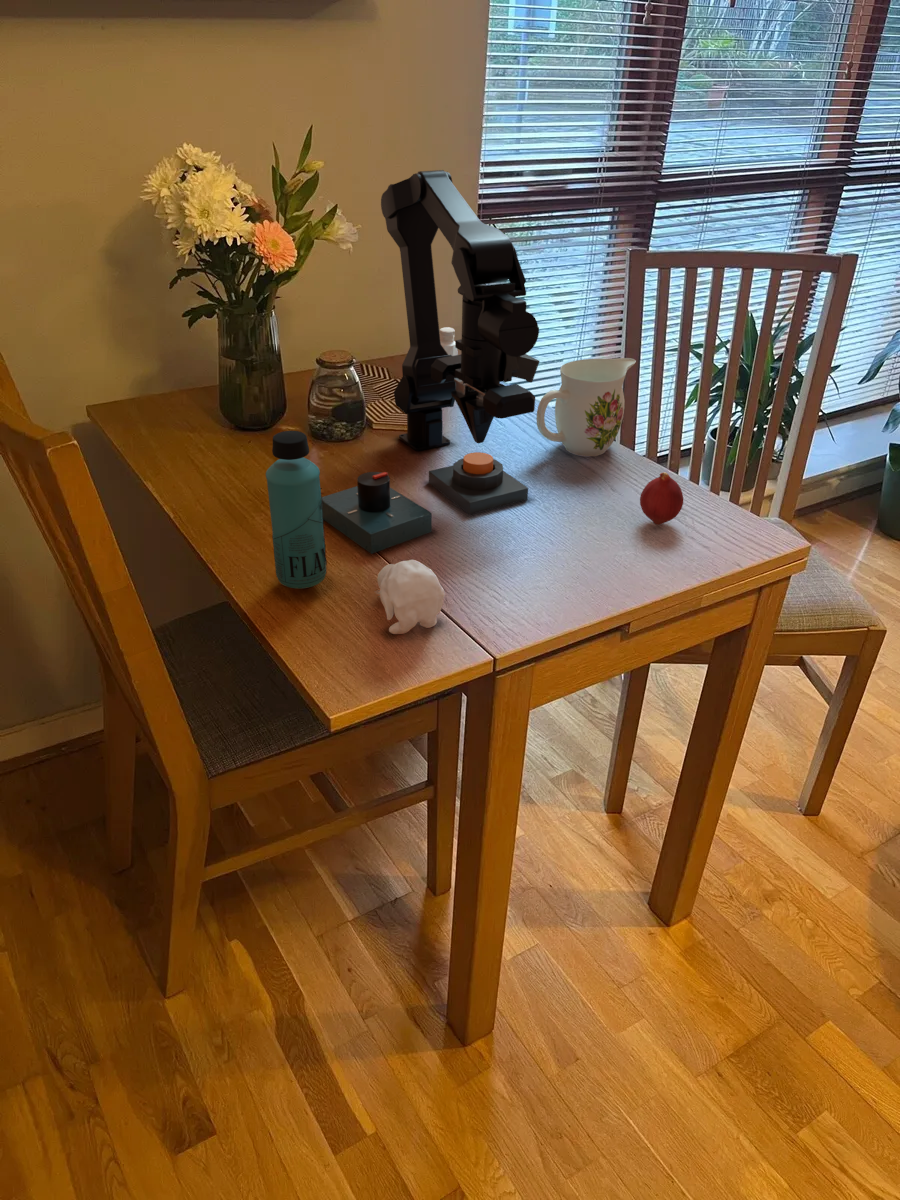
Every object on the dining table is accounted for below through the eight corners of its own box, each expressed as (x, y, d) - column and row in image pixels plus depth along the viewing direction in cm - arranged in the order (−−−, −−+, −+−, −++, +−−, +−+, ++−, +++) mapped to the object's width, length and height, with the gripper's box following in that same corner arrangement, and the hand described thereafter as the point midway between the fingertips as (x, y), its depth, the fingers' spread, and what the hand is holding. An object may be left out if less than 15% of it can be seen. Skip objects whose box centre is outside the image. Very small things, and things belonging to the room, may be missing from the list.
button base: (428, 482, 140) (428, 458, 138) (484, 469, 144) (485, 445, 142) (469, 515, 131) (470, 490, 129) (527, 500, 135) (529, 475, 133)
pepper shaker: (429, 391, 172) (429, 332, 166) (434, 381, 177) (435, 323, 171) (458, 393, 171) (459, 334, 165) (462, 383, 176) (464, 325, 170)
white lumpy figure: (393, 580, 99) (359, 539, 109) (397, 648, 103) (364, 602, 113) (447, 569, 101) (409, 529, 111) (449, 636, 105) (412, 592, 115)
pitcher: (516, 447, 151) (520, 365, 144) (604, 428, 159) (613, 349, 151) (554, 473, 143) (560, 388, 136) (645, 451, 151) (656, 369, 143)
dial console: (319, 517, 130) (318, 497, 128) (378, 497, 135) (377, 478, 134) (371, 554, 122) (370, 533, 120) (431, 532, 127) (431, 511, 125)
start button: (457, 466, 136) (457, 455, 135) (482, 460, 138) (483, 449, 137) (473, 478, 133) (473, 466, 132) (498, 471, 135) (499, 460, 134)
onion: (653, 510, 133) (660, 459, 129) (687, 524, 130) (696, 472, 125) (629, 523, 130) (636, 471, 125) (663, 538, 126) (671, 485, 122)
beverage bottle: (286, 604, 111) (271, 451, 100) (269, 579, 116) (252, 430, 105) (336, 592, 114) (327, 441, 103) (317, 567, 118) (306, 420, 108)
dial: (370, 515, 124) (369, 486, 122) (352, 503, 127) (350, 475, 125) (396, 506, 126) (396, 477, 124) (378, 494, 129) (377, 466, 127)
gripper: (571, 345, 121) (562, 454, 130) (495, 310, 135) (491, 411, 143) (501, 357, 117) (496, 470, 125) (429, 320, 130) (429, 424, 139)
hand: (479, 442), depth 133 cm, fingers closed
